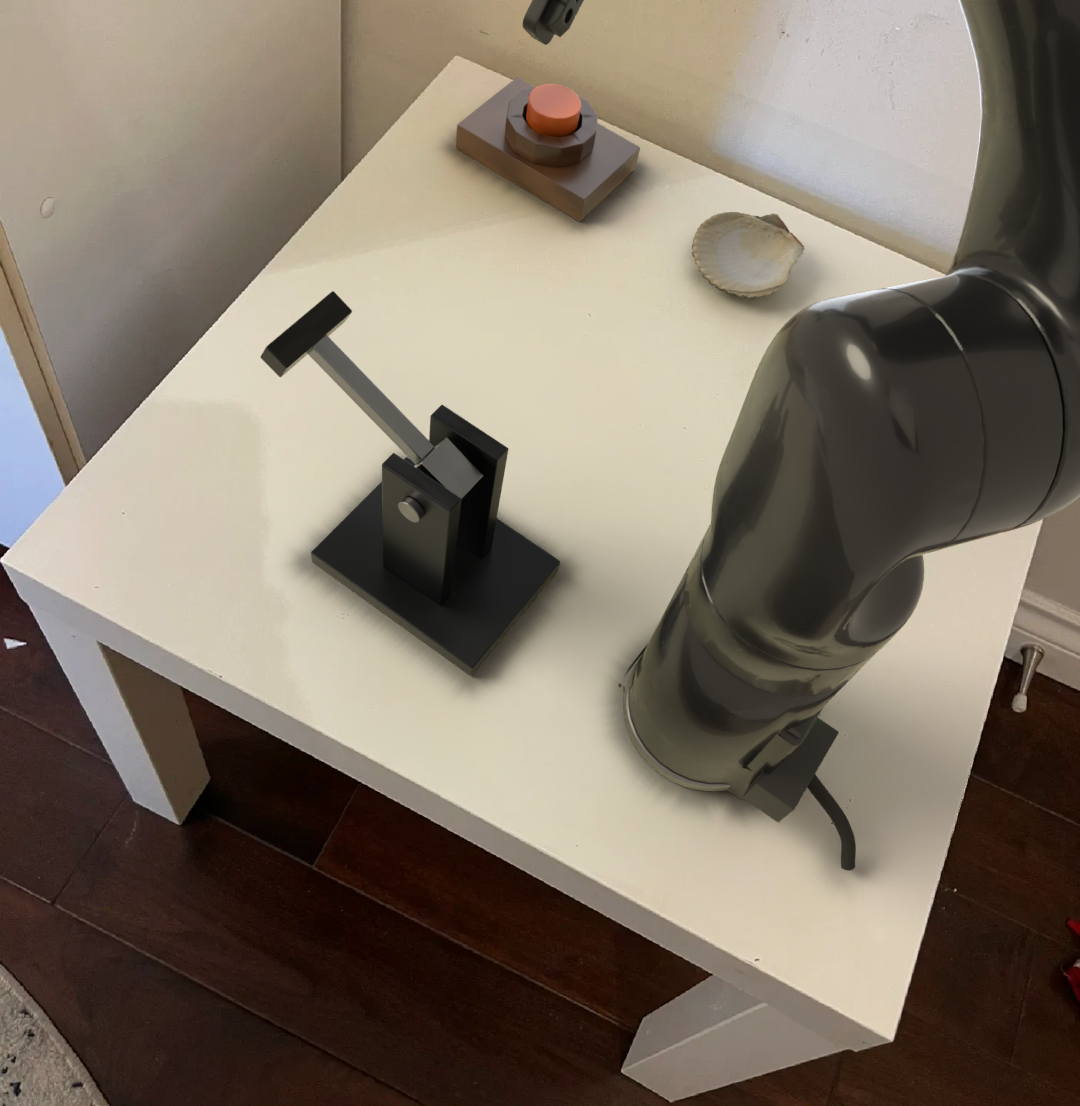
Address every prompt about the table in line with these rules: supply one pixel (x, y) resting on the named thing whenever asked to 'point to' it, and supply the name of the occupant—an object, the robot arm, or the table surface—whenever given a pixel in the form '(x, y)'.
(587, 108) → the button base
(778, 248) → the seashell
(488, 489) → the switch bracket
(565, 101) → the button
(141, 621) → the table surface
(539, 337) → the table surface
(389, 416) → the switch lever
